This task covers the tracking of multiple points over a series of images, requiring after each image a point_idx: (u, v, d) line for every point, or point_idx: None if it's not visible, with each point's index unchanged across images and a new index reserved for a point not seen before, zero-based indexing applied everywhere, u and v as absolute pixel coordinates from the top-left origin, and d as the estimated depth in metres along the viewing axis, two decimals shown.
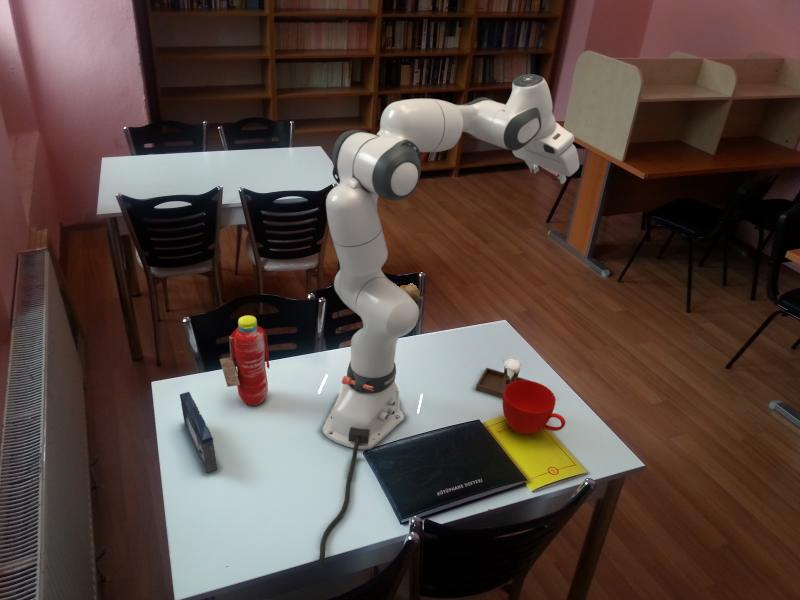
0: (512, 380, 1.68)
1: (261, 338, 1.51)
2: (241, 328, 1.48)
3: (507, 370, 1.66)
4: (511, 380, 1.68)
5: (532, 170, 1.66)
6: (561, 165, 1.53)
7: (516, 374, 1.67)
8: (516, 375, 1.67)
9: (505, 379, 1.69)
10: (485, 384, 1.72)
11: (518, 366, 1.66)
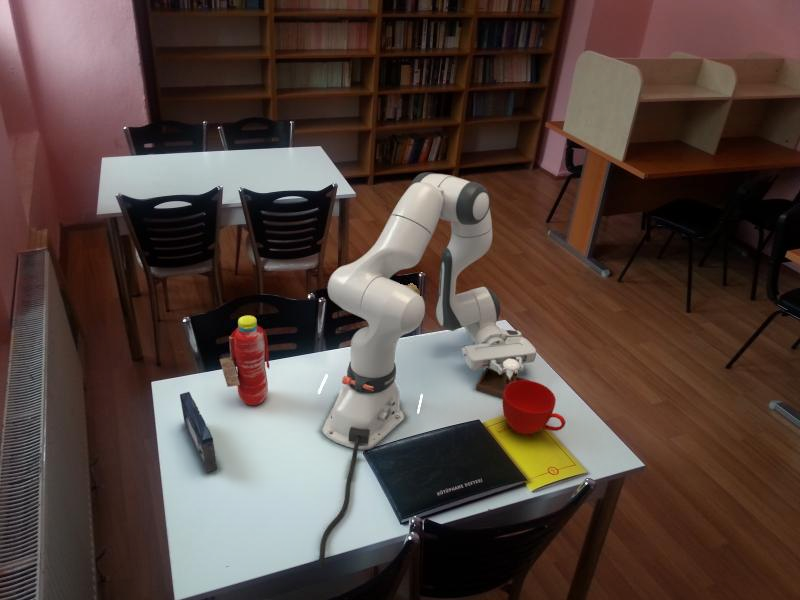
0: (511, 380, 1.68)
1: (261, 338, 1.51)
2: (241, 328, 1.48)
3: (506, 370, 1.66)
4: (511, 380, 1.68)
5: (502, 367, 1.67)
6: (525, 346, 1.75)
7: (515, 374, 1.67)
8: (515, 375, 1.67)
9: (504, 379, 1.69)
10: (485, 384, 1.72)
11: (517, 366, 1.66)
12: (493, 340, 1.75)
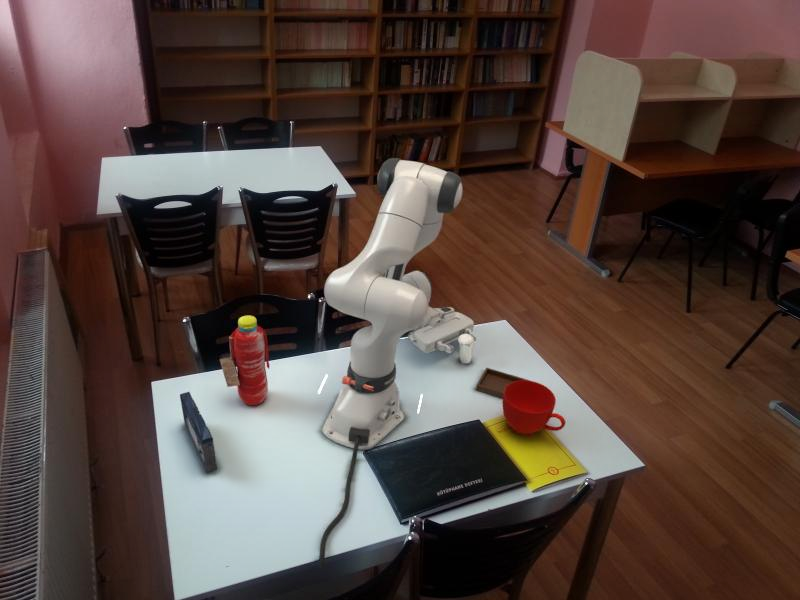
0: (469, 353, 1.78)
1: (261, 338, 1.51)
2: (241, 328, 1.48)
3: (463, 346, 1.76)
4: (468, 353, 1.78)
5: (449, 346, 1.74)
6: (462, 319, 1.85)
7: (472, 346, 1.77)
8: (472, 347, 1.78)
9: (462, 354, 1.79)
10: (485, 384, 1.72)
11: (472, 339, 1.76)
12: (434, 321, 1.81)
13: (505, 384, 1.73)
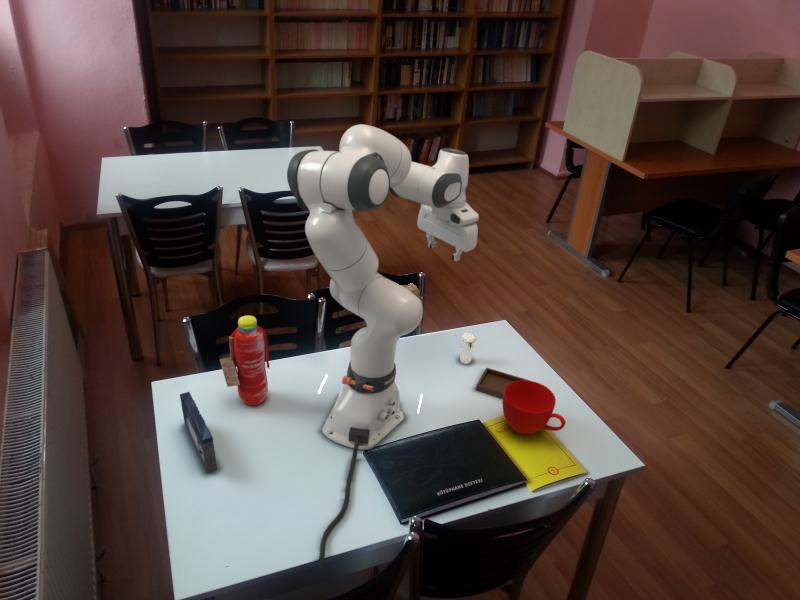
0: (470, 352, 1.79)
1: (261, 338, 1.51)
2: (241, 328, 1.48)
3: (466, 344, 1.77)
4: (470, 353, 1.79)
5: (430, 245, 1.75)
6: (461, 238, 1.63)
7: (473, 346, 1.78)
8: (473, 347, 1.78)
9: (463, 353, 1.79)
10: (485, 384, 1.72)
11: (474, 338, 1.77)
12: (436, 218, 1.66)
13: (505, 384, 1.73)
